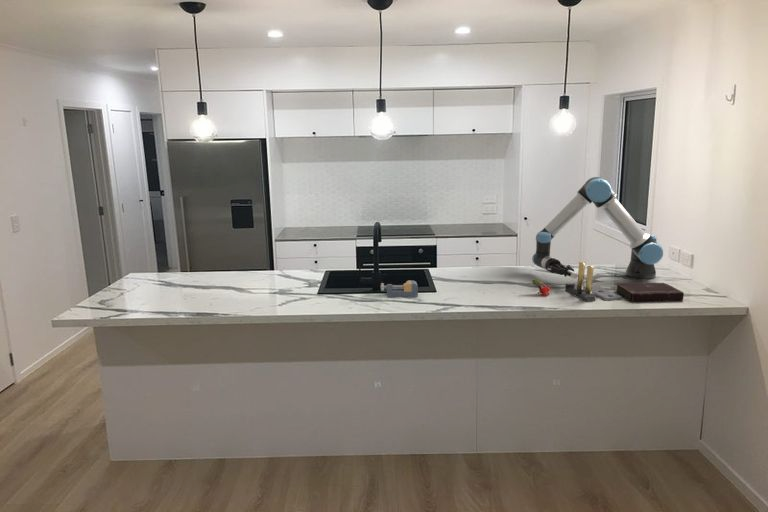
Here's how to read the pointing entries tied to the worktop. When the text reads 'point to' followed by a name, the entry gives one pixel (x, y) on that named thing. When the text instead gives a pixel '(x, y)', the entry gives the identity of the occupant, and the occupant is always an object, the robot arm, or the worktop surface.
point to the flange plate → (604, 293)
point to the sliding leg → (580, 278)
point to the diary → (648, 292)
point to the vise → (401, 289)
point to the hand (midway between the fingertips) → (575, 275)
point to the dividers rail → (570, 289)
